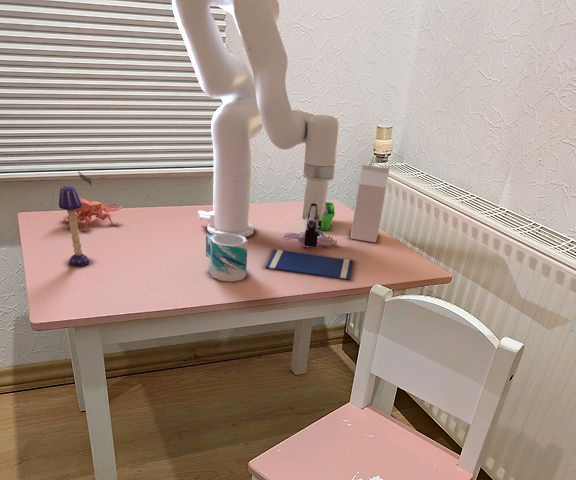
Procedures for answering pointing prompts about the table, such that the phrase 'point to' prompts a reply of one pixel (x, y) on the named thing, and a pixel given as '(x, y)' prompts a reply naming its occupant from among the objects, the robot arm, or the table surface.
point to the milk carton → (369, 203)
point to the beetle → (92, 210)
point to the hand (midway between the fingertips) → (312, 240)
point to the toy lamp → (73, 222)
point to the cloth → (310, 264)
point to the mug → (227, 256)
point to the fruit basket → (327, 216)
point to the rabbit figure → (321, 240)
